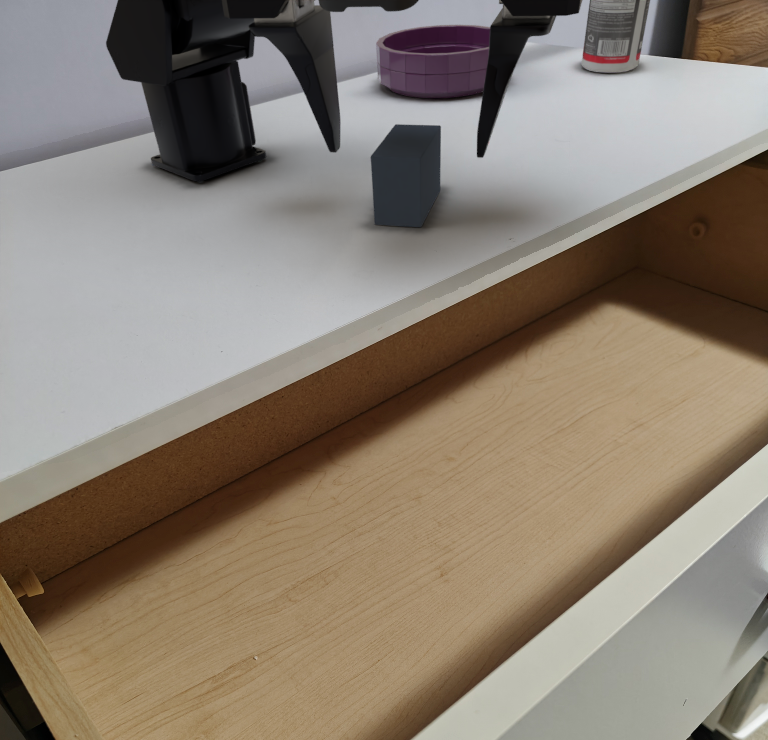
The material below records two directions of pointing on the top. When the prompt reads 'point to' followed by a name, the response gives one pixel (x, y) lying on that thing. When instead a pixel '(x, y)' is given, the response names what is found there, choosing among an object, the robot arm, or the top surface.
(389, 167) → the eraser
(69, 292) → the top surface
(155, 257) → the top surface
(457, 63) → the bowl
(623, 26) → the pill bottle
